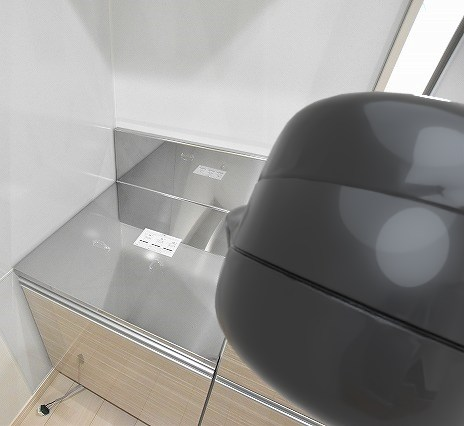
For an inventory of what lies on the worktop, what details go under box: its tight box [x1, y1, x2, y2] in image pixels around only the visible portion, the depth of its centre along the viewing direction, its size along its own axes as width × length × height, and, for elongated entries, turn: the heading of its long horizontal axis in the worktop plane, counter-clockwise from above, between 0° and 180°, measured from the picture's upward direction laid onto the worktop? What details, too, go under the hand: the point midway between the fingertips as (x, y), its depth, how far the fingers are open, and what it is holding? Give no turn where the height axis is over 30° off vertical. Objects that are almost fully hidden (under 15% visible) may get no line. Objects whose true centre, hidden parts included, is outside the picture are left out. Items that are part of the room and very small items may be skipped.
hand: (459, 223), depth 45 cm, fingers closed on candle, 5 cm apart
